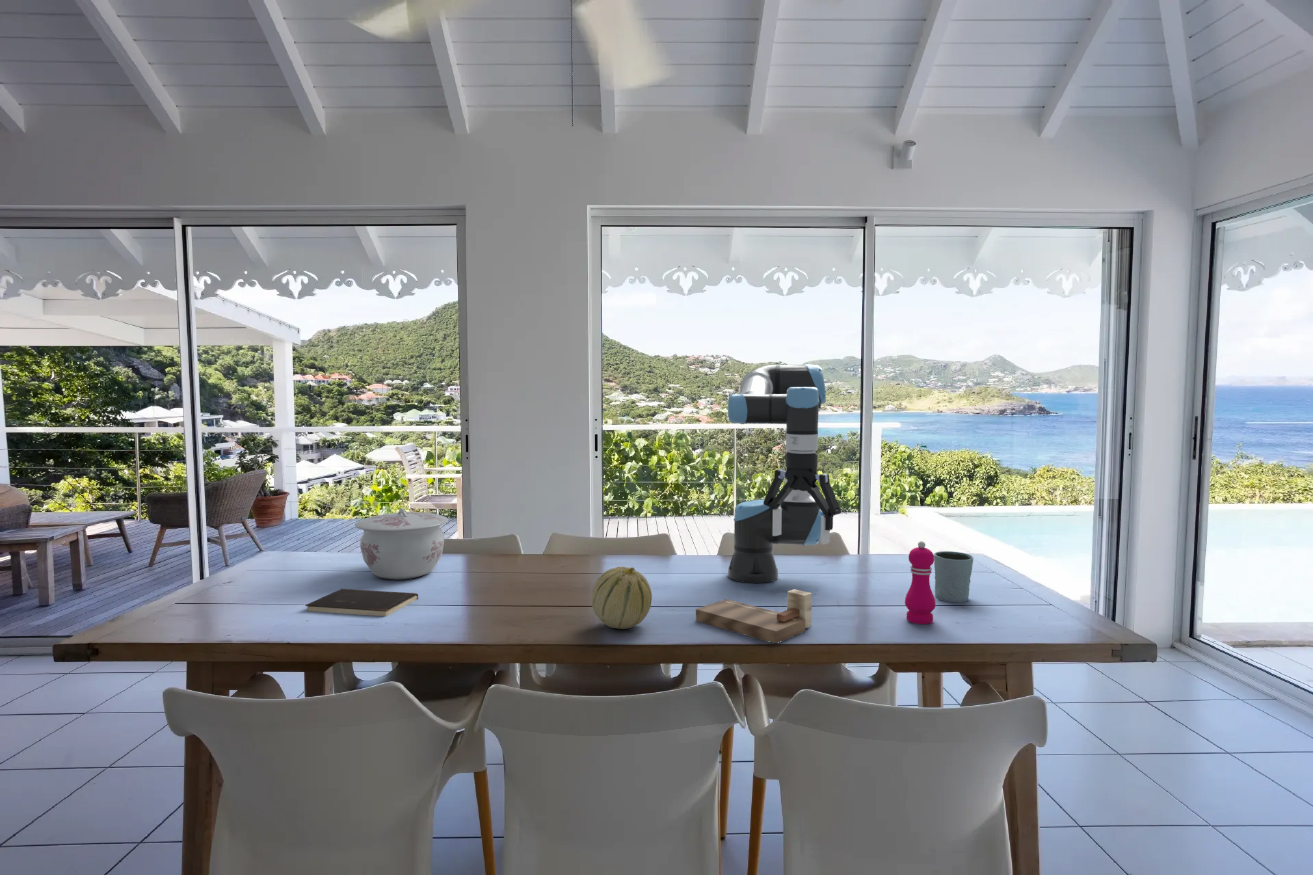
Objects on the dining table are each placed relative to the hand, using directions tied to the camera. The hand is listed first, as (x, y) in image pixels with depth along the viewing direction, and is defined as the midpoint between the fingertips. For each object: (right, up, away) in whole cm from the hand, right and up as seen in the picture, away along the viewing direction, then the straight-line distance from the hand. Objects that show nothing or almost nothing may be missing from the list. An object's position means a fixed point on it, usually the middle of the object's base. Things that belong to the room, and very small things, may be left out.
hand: (800, 539), depth 180 cm
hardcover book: (-113, -21, +19) cm, 116 cm away
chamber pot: (-113, -18, +51) cm, 125 cm away
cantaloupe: (-43, -22, +1) cm, 48 cm away
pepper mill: (+31, -21, +6) cm, 38 cm away
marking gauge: (-2, -21, 0) cm, 21 cm away
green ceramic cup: (+47, -20, +26) cm, 57 cm away
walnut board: (-12, -21, +2) cm, 25 cm away
